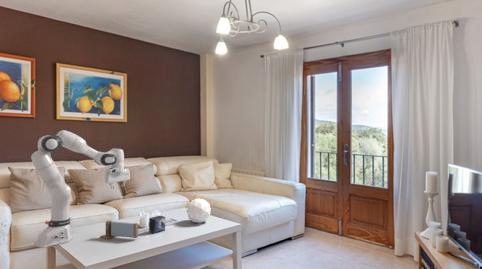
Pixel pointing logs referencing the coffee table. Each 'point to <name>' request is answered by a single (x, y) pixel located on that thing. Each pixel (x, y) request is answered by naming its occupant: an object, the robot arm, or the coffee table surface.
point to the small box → (156, 224)
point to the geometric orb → (198, 210)
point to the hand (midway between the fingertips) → (117, 187)
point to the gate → (124, 229)
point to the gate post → (108, 231)
